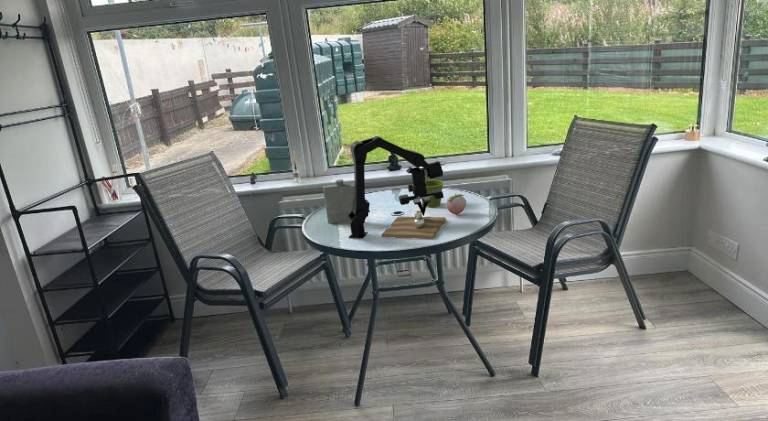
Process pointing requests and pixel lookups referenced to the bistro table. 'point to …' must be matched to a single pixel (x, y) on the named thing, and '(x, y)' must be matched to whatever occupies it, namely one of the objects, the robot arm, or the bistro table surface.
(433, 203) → the plant pot
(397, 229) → the board
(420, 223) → the lever
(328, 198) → the hip flask
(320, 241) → the bistro table surface
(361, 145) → the robot arm
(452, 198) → the decorative fruit
